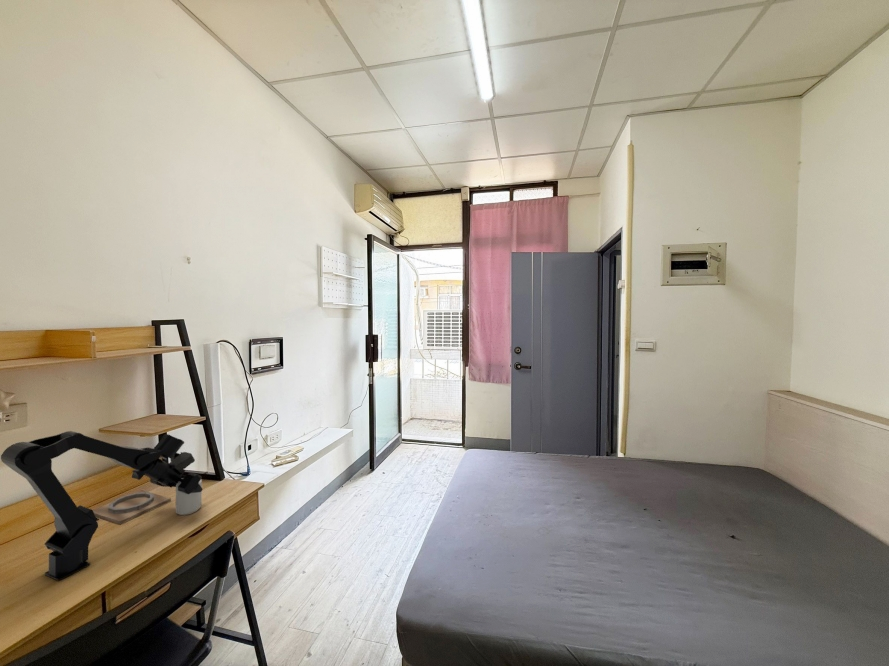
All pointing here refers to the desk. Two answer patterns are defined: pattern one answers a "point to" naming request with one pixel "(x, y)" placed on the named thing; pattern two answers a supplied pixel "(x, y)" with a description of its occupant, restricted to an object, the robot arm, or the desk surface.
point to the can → (187, 501)
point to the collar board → (128, 504)
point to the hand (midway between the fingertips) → (192, 488)
